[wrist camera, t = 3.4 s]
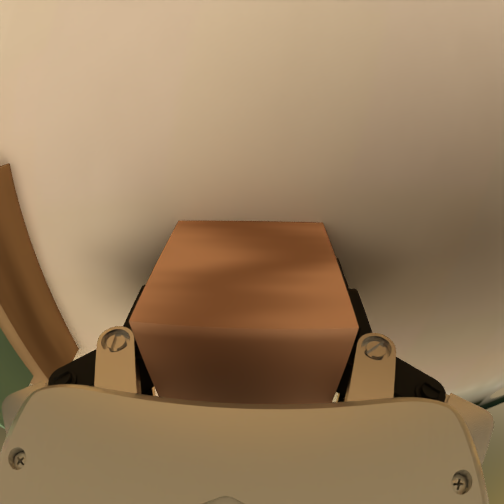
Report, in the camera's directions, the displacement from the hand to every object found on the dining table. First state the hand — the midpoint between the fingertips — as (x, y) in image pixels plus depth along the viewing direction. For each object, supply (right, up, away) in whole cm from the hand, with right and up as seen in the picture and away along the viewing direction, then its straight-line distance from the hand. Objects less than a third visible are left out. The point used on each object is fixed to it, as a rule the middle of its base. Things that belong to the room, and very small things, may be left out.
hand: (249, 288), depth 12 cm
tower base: (-16, +1, +1) cm, 16 cm away
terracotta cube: (0, 0, 0) cm, 1 cm away
